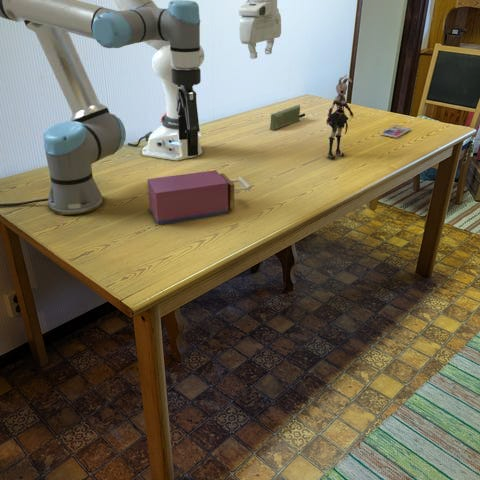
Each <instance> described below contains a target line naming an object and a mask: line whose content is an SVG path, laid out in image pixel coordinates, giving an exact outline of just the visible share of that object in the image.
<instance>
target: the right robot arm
mask: <svg viewBox="0 0 480 480" xmlns="http://www.w3.org/2000/svg"><path fill="white" fill-rule="evenodd" d="M114 2H115V4H116V6H117V8H118V11H125V10H130V8H132V7H141V6H146V7H151V8H159V7H158V5H157V4H156V3H155V2H154V1H153V0H114ZM238 15H239V16H240V18H239V40H240V43H241V44H242V45H247V48H248V51H249V58H250V60H255V59H257V58H258V52H257V49H256V47H257V44H258V43H262V42H265V41H266V46H265V48H264V54H265V55H271V54H272V53H273V47H274V45H275V39H277V38H280V37H281V34H282V17H281V13H280V11H279V8H278V0H246V1H245V3H244V4H243V5H241V6H240V7H239V9H238ZM143 43H145V44H146V45H148V46H150V47H153V49H154V50H157V51H155V53H154V54H153V55H152V58H151V66H152V70H153V72H154V74H155V75H156V76H157V77H158V78H159V80H160V82H161V85H162V89H163V92H164V98H165V113H163V114H162V116H161V118H160V123H161V125H159V127H157V128H156V129H155V130H154V131H149V132H147V133H146V134H145V135H144V136H141V137H139V139H138V140H137V143H136V144H134V143H130V142H128V143H127V145H128V146H131V147H138V146H139V145H140V143H141V141H142V140H144V139H145V142H147V145H145V146H144V147H143V148H142V150H141V155H142V156H145V157H152V158H157V159H164V160H170V161H176V162H178V161H182V160H185V159H190V158H191V159H192V158H196V157H197V156H188V151H187V139H186V140H179V126H178V117H180V116H178V112H177V111H176V109H177V91H178V85H175V84H173V83H172V78H171V69H172V68H173V67H172V66H171V60H170V41H162V40H149V41H144V42H143ZM200 53H202V57H200V66H199V67H198V68H200V67H201V66H202V65H203V63H204V61H205V51H204V48H203V47H202V45H201V44H200ZM193 91H195V90H194V89H193ZM196 102H197V100H196ZM198 121H199V118H198ZM199 122H200V121H199ZM193 127H194V126H193ZM201 136H202V134H201V133H198V156H200V155H202V153H203V149H202V148H203V147H202V145H201V142H200V137H201Z"/></svg>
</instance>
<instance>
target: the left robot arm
mask: <svg viewBox="0 0 480 480" xmlns="http://www.w3.org/2000/svg"><path fill="white" fill-rule="evenodd" d="M0 18H2V19H5V20H8V21H13V22H16V23H23V22H24V25H25V27H26V28H27V29H28V30H29V31H32V32H34V33H35V35H36V38H37V40H38V42H39V44H40V46H41V49H42V50H43V53H44V55H45V57H46V59H47V61H48V63H49V66H50V68H51V70H52V72H53V74H54V76H55V79H56V81H57V84H58V85H59V88H60V89H61V92H62V94H63V96H64V98H65V101H66V102H67V104H68V107H69V109H70V110H71V113H72V115H71V118H70V120H69V121H64V122H59V123H55V124H53V125H51V126H50V127H48V128H47V129H46V130H45V131H44V134H43V148H44V149H43V150H44V152H45V157H46V162H47V167H48V173H49V178H50V189H49V193H48V197H47V198H40V199H34V200H28V201H22V202H12V203H11V202H9V203H0V207H14V206H23V205H29V204H34V203H35V204H36V203H41V202H47V201H48V207H49V210H50V211H51V212H52V213H54V214H57V215H62V216H75V215H76V216H77V215H84V214H87V213H90V212H93V211H96V210H97V209H99V208H100V207H101V206H102V205H103V203H104V202H103V195H102V193H101V191H100V188H99V186H98V184H97V183H96V180H95V179H94V176H93V168H92V164H95V163H97V162H99V161H100V160H102V159H105V158H108V157H109V156H112V155H114V154H116V153H117V152H118V151H120V150H121V149H122V148H123V146H124V145H125V142H126V138H127V133H126V128H125V125H124V122H123V121H122V120H121V119H120V117H117V115H116V114H113V113H111V112H110V110H109V108H108V106H106V105H104V104H102V103H101V102H100V99H99V98H98V96H97V93H96V91H95V89H94V87H93V84H92V82H91V80H90V77H89V76H88V73H87V71H86V68H85V67H84V64H83V62H82V59H81V58H80V55H79V52H78V51H77V48H76V46H75V44H74V42H73V40H72V37H71V34H75V35H77V36H81V37H86V38H89V39H92V40H96V42H97V43H98V44H99V45H100V46H101V47H102V48H105V49H120V48H123V47H126V46H130V45H135V44H140V43H145V42H144V41H149V40H162V41H170V60H171V66H172V67H173V68H172V69H171V78H172V83H173V84H175V85H178V91H177V109H176V111H177V112H178V116H180V117H178V126H179V140H186V139H187V151H188V156H196V157H198V156H199V155H198V134H199V133H200V130H201V128H200V121H198V119H199V113H198V112H199V111H198V103H197V102H196V101H197V92H196V91H195V90H194V86H198V85H199V84H200V83H201V81H202V80H201V77H202V76H201V69H200V67H201V66H200V57H202V53H200V45H201V17H200V6H199V4H198V3H197V1H194V0H170V1H169V2H168V4H167V8H161V7H158V8H151V7H146V6H141V7H132V8H130V10H125V11H120V10H115V9H112V8H108V7H104V6H100V5H97V4H92V3H88V2H85V1H81V0H0ZM70 33H71V34H70ZM199 66H200V67H199ZM198 67H199V68H198ZM193 90H194V91H193ZM193 126H194V127H193Z"/></svg>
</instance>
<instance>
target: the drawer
mask: <svg viewBox="0 0 480 480" xmlns="http://www.w3.org/2000/svg"><path fill="white" fill-rule="evenodd" d="M219 174H220V175H221V176H222V177H223V178H224V179H225V180H226V182H227V183H228V208H229V209H235V192H240V191H246V190H247V191H248V192H250V191H251V190H252V186H251V184H249V183H248V182H247V181H246V180H245V179H244V178H243V177H238V179H237V178H236V179H230V178H229V177H228V176H227V175H226V174H225V173H223V172H222V173H219ZM238 182H239V183H240V185H241V186H242V187H238V188H237V187H236V188H235V183H238Z"/></svg>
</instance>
